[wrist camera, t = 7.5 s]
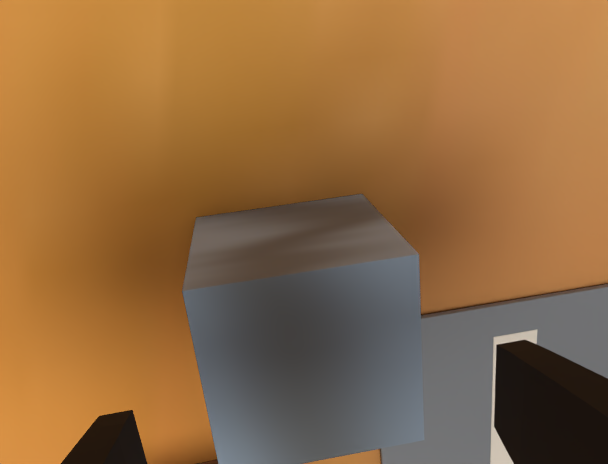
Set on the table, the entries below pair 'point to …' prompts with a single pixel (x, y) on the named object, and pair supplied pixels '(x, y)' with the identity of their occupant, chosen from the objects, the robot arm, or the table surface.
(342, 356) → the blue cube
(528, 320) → the letter card
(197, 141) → the table surface
